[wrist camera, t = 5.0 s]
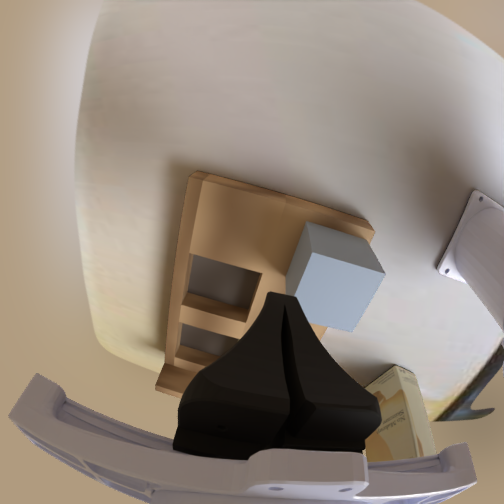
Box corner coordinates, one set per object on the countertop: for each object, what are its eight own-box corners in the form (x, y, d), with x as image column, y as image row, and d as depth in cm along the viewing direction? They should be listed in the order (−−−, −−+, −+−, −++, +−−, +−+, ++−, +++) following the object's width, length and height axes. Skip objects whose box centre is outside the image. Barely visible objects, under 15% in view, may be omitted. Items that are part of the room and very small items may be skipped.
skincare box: (394, 363, 27) (420, 460, 16) (415, 373, 28) (442, 460, 17) (354, 393, 30) (366, 484, 19) (377, 401, 30) (391, 485, 20)
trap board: (367, 221, 20) (388, 251, 16) (284, 384, 30) (283, 421, 25) (197, 170, 20) (172, 188, 15) (169, 355, 29) (155, 390, 25)
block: (366, 240, 19) (385, 274, 15) (341, 291, 21) (352, 332, 17) (306, 220, 19) (312, 252, 15) (285, 276, 21) (285, 316, 17)
